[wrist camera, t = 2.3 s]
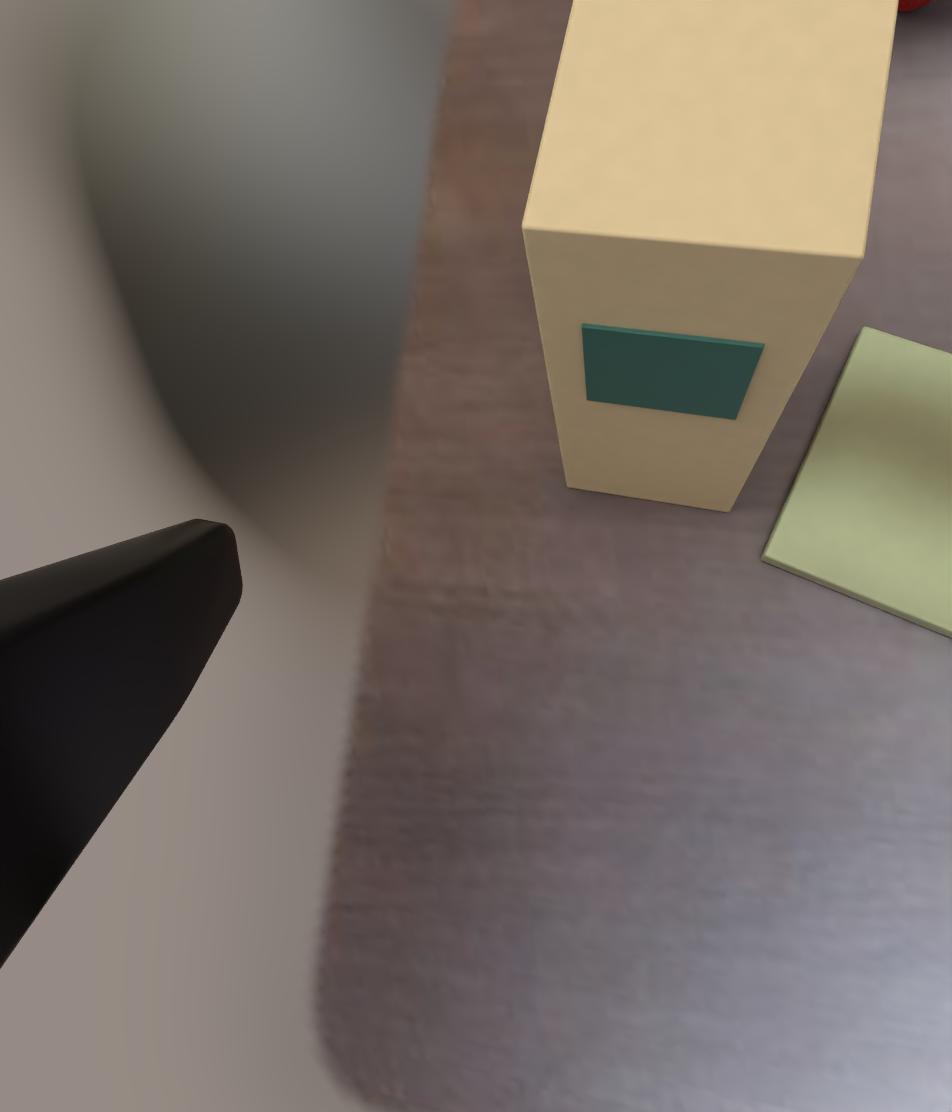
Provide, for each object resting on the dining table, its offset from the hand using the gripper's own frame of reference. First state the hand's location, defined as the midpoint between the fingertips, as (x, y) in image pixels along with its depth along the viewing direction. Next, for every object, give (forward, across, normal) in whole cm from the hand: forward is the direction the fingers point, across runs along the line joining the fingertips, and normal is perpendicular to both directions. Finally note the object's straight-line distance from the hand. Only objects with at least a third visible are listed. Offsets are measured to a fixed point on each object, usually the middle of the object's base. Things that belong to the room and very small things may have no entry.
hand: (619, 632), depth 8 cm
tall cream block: (+15, 0, +4) cm, 16 cm away
